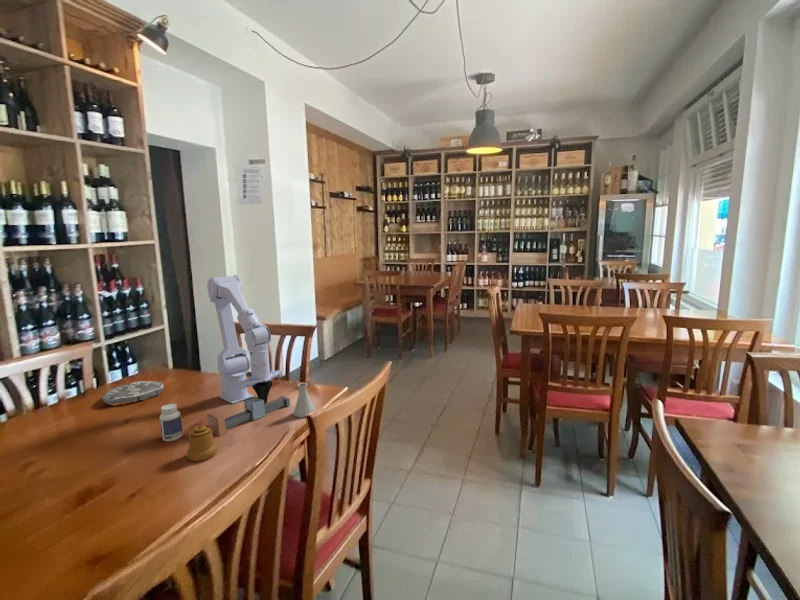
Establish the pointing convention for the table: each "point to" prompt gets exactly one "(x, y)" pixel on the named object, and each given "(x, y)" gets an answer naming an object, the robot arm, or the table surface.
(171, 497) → the table surface
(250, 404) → the block
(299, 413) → the flask
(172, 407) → the pill bottle
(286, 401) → the rail
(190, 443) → the ornamental finial
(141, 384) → the brain slice
